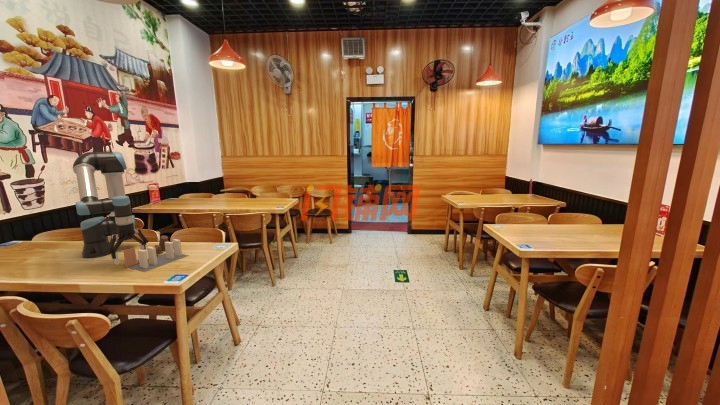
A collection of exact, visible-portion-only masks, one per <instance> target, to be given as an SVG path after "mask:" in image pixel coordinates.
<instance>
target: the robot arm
mask: <svg viewBox="0 0 720 405" xmlns="http://www.w3.org/2000/svg"><path fill="white" fill-rule="evenodd" d="M127 168H128V167H127V163H126V161H125V157H124V155H123V153H122V152H120V151H87V152H84V153H82V154H80V155H79V156H78V157H77V158H76V159H75V160H74V161H73V165H72V171H73V173H74V174H75V175H76V181H77V187H78V188H77V189H78V193H79V200H80V201H77V202H75V208H76V213H77V215H79V216H90V215H97V214H102V213H103V214H105V213H109V214H108V218H105V217H104V216H96V217H91V218H87V219H85V220H83V221H81V222H80V232H81V234H82V241H83V247H82V252H81V255H82V258H83V259H92V258H99V257H103V256H107V255H110V254H111V259H112V260H114V264H115V265H120V261H119V254H118V252H117V251H118V250H119V248H120V247H121V245H122V243H123V242H125V241H128V240H132V239H133V240H135V241H136V242H138V243H139V250H140V249H141V250H146V251H147V246H146V245H147V244H148V243H149V240H148V239H147V237H146V236H145V235H144V234H143V233H142V229H140V228H136V219H135V218H136V217H135V214H134V215H133V214H132V208H131V207H132V206H131V200H130V197H129V196H128V195H126V191H125V185H124V179H123V178H124V177H123V175H124V174H125V171H126V170H128V169H127ZM98 171H99V172H100V174H101V175H103V177H104V179H105V185H106V190H107V195H108V198H106V199H103V198H102V199H99V194H98V190H97V184H96V179H95V173H96V172H98ZM135 228H136V229H135ZM135 234H137V235H135ZM137 236H138V237H137ZM109 237H110V239H109Z"/></svg>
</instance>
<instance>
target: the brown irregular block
mask: <svg viewBox="0 0 720 405" xmlns="http://www.w3.org/2000/svg"><path fill="white" fill-rule="evenodd" d="M164 242H169V236H167V235H160V238H159V243H158V244H155V245H154V246H153V247H154V248H156V255H157V256H159V254H161V253H162V252H166V251H165V243H164ZM173 250H174V248H173Z"/></svg>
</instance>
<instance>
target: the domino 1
mask: <svg viewBox="0 0 720 405" xmlns="http://www.w3.org/2000/svg"><path fill="white" fill-rule="evenodd" d="M122 251H123V258H124V262H125V267H129V266H132V265H135V264H137V263H138V261H137V255H136V254H137V253H136V248H135V247H134V246H132V247H128V248H125V249H123V250H122Z"/></svg>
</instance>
